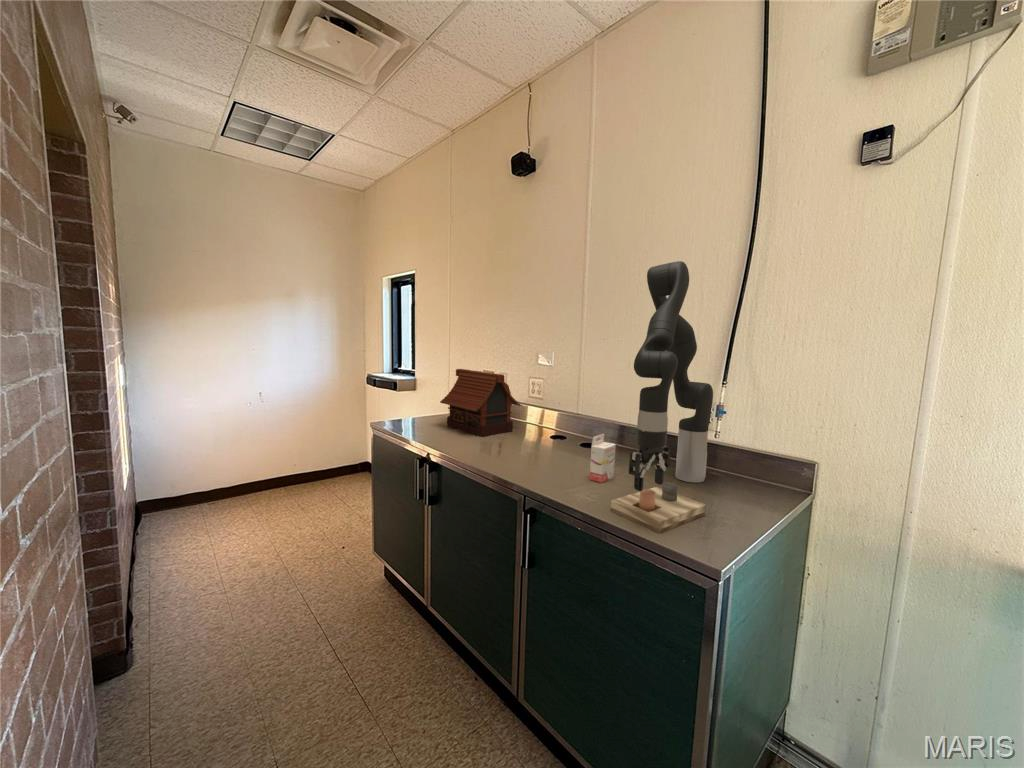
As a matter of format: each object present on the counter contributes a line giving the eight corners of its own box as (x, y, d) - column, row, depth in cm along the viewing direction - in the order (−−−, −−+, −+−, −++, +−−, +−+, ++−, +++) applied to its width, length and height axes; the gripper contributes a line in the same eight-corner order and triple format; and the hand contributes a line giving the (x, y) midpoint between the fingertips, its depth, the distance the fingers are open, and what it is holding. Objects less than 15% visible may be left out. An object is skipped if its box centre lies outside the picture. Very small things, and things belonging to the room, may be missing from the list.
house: (522, 431, 213) (523, 373, 210) (476, 439, 194) (477, 376, 191) (479, 419, 239) (479, 367, 235) (435, 426, 220) (435, 369, 216)
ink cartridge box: (602, 483, 141) (604, 439, 139) (589, 480, 144) (591, 437, 142) (614, 477, 147) (616, 435, 146) (601, 473, 150) (603, 432, 149)
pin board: (655, 496, 130) (657, 473, 130) (705, 515, 117) (707, 490, 117) (610, 510, 119) (611, 486, 118) (659, 533, 106) (661, 506, 105)
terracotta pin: (644, 509, 118) (646, 488, 117) (657, 514, 115) (658, 492, 114) (635, 512, 116) (636, 490, 115) (647, 517, 113) (649, 495, 112)
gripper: (656, 421, 119) (653, 477, 122) (622, 427, 111) (619, 488, 113) (681, 426, 113) (677, 485, 115) (646, 433, 105) (643, 497, 107)
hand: (648, 486), depth 114 cm, fingers open, 8 cm apart
